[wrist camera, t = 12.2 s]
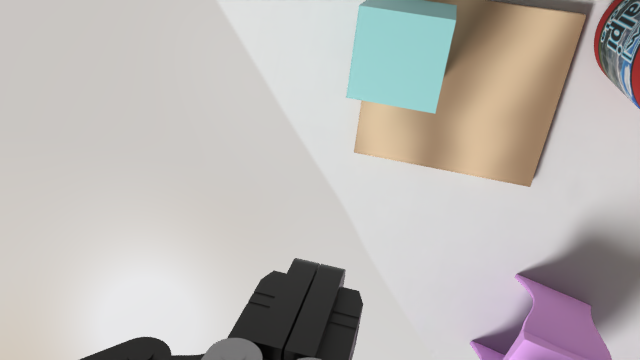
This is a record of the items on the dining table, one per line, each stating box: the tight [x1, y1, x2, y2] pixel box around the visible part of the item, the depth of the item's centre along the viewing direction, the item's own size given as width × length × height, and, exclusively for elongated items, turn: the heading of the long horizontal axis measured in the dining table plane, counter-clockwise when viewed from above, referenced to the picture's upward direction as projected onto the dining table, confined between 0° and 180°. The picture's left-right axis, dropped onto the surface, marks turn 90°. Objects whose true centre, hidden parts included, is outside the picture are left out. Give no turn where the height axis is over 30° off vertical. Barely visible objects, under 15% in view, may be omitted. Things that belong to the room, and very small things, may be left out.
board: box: [354, 0, 586, 187], centre depth 36 cm, size 13×12×1 cm
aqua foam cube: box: [346, 0, 457, 114], centre depth 32 cm, size 5×5×7 cm
